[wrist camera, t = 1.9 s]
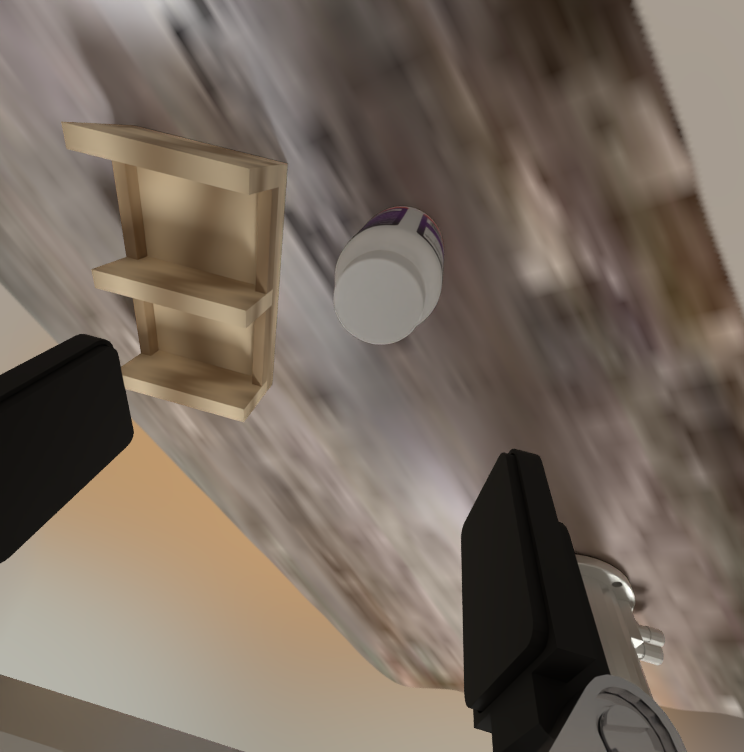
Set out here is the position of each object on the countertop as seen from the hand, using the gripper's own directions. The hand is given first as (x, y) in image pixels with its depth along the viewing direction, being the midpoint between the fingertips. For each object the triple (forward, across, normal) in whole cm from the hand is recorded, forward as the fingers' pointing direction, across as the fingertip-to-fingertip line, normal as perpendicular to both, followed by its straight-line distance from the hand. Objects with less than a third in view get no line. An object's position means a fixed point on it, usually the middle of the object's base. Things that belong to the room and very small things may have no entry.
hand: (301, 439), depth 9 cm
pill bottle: (+19, 0, 0) cm, 19 cm away
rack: (+18, +13, +5) cm, 23 cm away
